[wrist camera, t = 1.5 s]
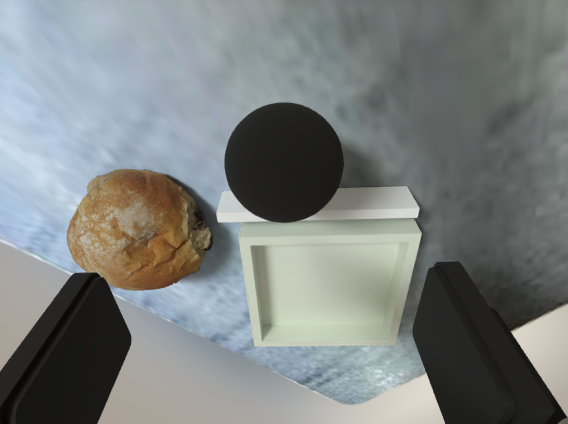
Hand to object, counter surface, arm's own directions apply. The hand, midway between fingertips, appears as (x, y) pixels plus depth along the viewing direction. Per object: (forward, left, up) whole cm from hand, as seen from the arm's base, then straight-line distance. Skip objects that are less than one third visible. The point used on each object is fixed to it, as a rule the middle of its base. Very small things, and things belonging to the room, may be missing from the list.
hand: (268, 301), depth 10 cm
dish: (-3, +15, -16) cm, 22 cm away
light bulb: (0, 0, -16) cm, 16 cm away
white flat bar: (-2, +6, -16) cm, 17 cm away
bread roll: (+11, +8, -16) cm, 21 cm away
